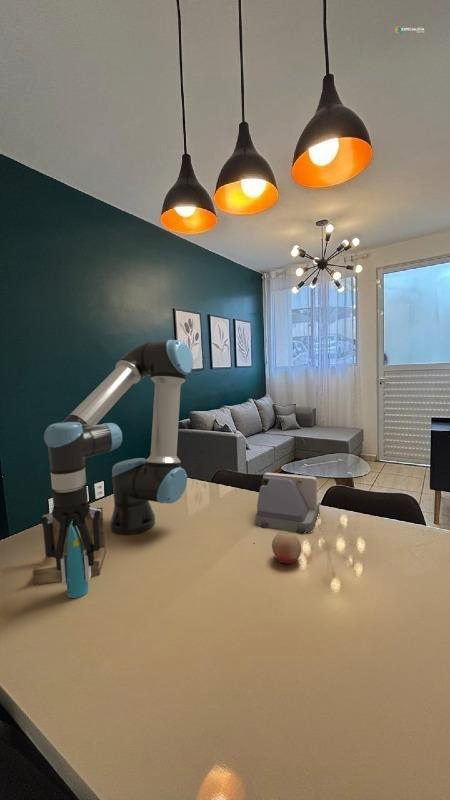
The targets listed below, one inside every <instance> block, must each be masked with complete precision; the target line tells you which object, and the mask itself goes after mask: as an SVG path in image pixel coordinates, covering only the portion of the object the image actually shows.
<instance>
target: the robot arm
mask: <svg viewBox="0 0 450 800" xmlns="http://www.w3.org/2000/svg"><path fill="white" fill-rule="evenodd" d="M193 368H194V356H193V352H192V350H191V349H190V346H189V345H188V344H187V343H186V342H185V341H183V340H180V339H168V340H161V341H160V340H159V341H152V342H150V341H149V342H144V343H141V344H139V345H137V346H135V347H133V348H132V349H131V350H130V351H128V352H127V353H126V354H124V355H123V356H122V357H121V358H120V359H119V360H118V361H117V362H116V364H115V368H114V370H113V371H112V372H111V373H109V374H108V375H107V377H106V378H105V379H104V380H103V381H102V382H101V383H100V384H99V385H98V386H97V387H96V388H95V389H94V390H93V391H92V392H91V393H90V394H88V396H86V398H85V399H84V400H82V402H81V403H79V405H78V406H77V407H75V409H73V410H72V412H71V413H69V415H68V416H67V417H66V418H64V420H62V422H55V423H52V424H50V425H49V426H47V427H46V429H45V431H44V434H43V440H44V443H45V444H46V446H47V450H48V459H49V467H50V480H51V489H52V490H53V491H52V503H53V504H52V505H53V510H52V511H51V512H49V513H44V514H45V515H44V514H43V515H44V516H43V515H42V516H43V517H42V516H41V518H40V523H41V524H42V528H43V527H44V532H43V534H44V533H45V543H46V553H47V557H54V558H56V565H57V570H58V571H61V572H62V581H61V583H62V584H61V585H63V586H65V585H66V586H67V567H66V565H67V553H63V551H64V544H65V538H66V532H67V527H69V525H70V522H71V521H72V519H73V522H72V525H73V526H77V528H78V530H79V532H80V535H81V537H82V540H83V543H84V546H85V549H86V552H85V554H84V564H85V576H86V581H88V582H90V580H91V577H92V576H91V566H93V564H94V551H98V550H99V549H100V546H101V533H100V518H99V517H100V513H101V508H102V507H97V509H95V508H96V507H91V505H90V504H89V501H88V500H89V499H88V489H87V485H86V483H87V475H86V461H85V460H86V459H87V458H90V457H93V456H97V455H101V454H105V453H110V452H111V451H114V450H117V449H118V448H120V446H121V445H122V442H123V432H122V430H121V428H120V427H119V425H118V424H116V423H115V422H105V423H102V424H98V423H99V422H100V421H101V420H102V418H104V417H105V415H106V414H107V413H108V412H109V411H110V410H111V409H112V408H113V407H114V405H115V404H116V403H117V402H118V401H119V399H121V398H122V397H123V395H124V394H125V393H126V392H128V390H129V389H130V388H131V387H132V385H134V384H138V383H139V382H140V381H141V380H142V379H144V378H145V377H149V376H150V380H151V381H152V382H153V383H154V393H153V394H154V395H153V396H154V397H153V409H152V410H153V414H152V428H151V444H150V455H149V456H148V458H144V457H137V458H132V459H131V458H130V459H126V460H125V459H124V460H122V461H120V462H117V463H115V464H114V465H113V466H112V468H111V471H112V472H111V473H112V475H111V479H112V480H111V481H112V491H113V493H112V494H113V503H114V507H113V511H112V515H111V519H110V531H111V532H113V534H116V535H123V536H125V535H126V536H128V535H137V534H139V533H142V532H146V531H148V530H149V529H151V528H153V526H155V524H156V515H155V513H154V510H153V507H152V505H151V504H150V502H156V503H160V504H175V503H176V502H177V501H179V500H180V499H181V497H182V496H183V495H184V492H185V490H186V488H187V483H188V474H187V472H186V470H185V469H184V467H181V464H182V463H181V460H180V459H179V457H178V455H177V453H178V441H179V440H178V439H179V437H178V436H179V423H180V421H179V420H180V418H179V417H180V404H181V403H180V402H181V401H180V400H181V387H182V384H184V383H185V382H186V379H187V378H186V375H188V374H190V373H191V372H192V371H193ZM88 513H90V514H91V517H92V518H93V534H94V544H93V543H92V540H91V537H90V534H89V531H88V529H87V526H86V521H85V517H86V516H87V514H88ZM53 517H54V518H55V519H56V520H57V521H58V522H59V523H60V529H59V537H58V543H57V549H55V543H54V533H53V523H52V521H53ZM45 543H44V544H45Z"/></svg>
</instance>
